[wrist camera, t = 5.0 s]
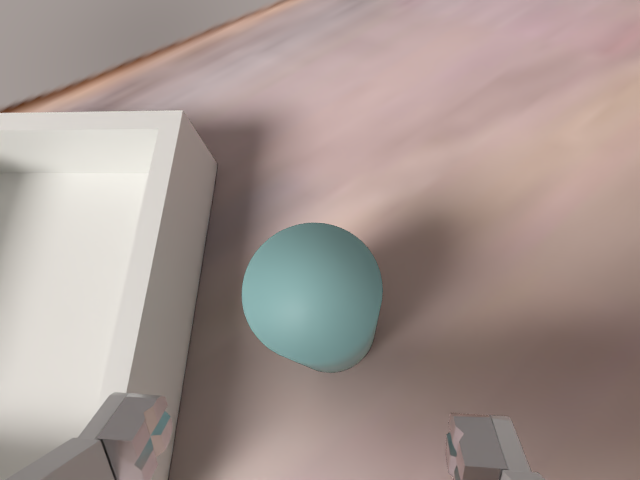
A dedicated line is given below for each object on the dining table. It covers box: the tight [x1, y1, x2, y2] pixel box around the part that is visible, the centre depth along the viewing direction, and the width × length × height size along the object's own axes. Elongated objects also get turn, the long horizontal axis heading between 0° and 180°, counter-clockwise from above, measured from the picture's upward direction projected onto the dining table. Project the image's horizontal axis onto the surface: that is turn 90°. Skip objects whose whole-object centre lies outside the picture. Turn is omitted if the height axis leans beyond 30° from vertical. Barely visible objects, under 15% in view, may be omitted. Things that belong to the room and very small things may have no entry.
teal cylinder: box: [242, 223, 383, 373], centre depth 17 cm, size 4×4×8 cm
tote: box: [0, 110, 218, 480], centre depth 19 cm, size 14×18×5 cm
